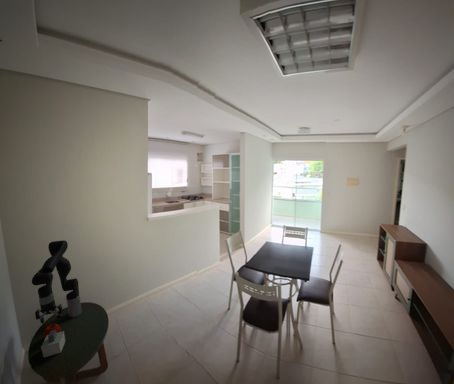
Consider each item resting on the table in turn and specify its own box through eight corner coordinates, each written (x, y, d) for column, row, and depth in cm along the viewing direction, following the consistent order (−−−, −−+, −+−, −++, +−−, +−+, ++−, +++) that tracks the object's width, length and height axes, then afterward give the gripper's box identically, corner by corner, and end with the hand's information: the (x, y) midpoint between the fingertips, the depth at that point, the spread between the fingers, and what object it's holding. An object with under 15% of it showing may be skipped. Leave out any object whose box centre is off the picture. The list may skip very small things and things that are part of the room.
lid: (47, 338, 155) (45, 329, 153) (64, 333, 159) (63, 325, 157) (41, 350, 145) (39, 341, 144) (59, 345, 149) (58, 336, 148)
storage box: (49, 345, 156) (47, 336, 154) (65, 341, 159) (63, 332, 158) (43, 357, 146) (41, 348, 145) (60, 352, 150) (59, 343, 149)
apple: (43, 337, 162) (40, 326, 161) (60, 329, 170) (58, 317, 169) (45, 346, 155) (43, 333, 154) (63, 336, 163) (61, 325, 161)
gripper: (61, 294, 148) (65, 314, 151) (36, 299, 142) (40, 320, 146) (57, 301, 141) (61, 321, 144) (31, 307, 136) (35, 328, 139)
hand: (50, 320), depth 145 cm, fingers open, 8 cm apart
